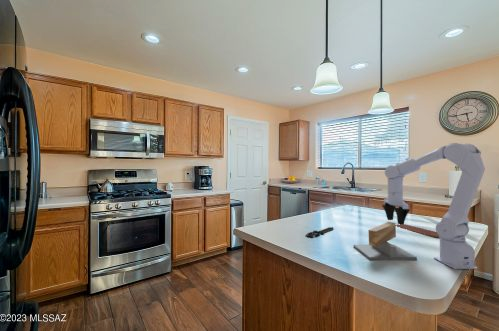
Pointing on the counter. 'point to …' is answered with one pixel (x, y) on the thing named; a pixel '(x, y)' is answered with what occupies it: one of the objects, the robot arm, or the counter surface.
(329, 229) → the black spatula
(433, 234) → the wooden tablet
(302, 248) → the counter surface
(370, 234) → the wooden block
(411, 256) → the stand
